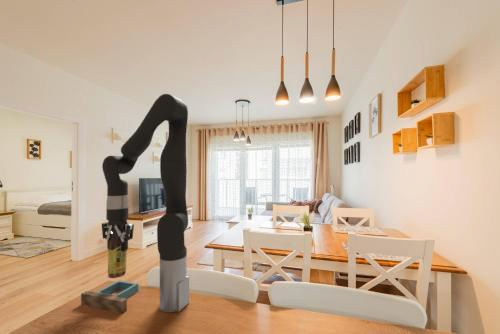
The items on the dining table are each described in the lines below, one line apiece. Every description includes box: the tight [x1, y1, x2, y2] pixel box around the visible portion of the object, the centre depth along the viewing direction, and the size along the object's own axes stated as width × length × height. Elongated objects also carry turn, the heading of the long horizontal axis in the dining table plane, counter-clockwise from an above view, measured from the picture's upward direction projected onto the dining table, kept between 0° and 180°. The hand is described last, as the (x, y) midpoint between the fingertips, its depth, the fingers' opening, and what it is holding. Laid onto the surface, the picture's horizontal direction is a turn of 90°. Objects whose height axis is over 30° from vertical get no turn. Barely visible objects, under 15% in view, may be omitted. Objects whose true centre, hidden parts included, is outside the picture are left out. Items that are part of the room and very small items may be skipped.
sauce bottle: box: [107, 224, 128, 279], centre depth 91 cm, size 6×6×20 cm
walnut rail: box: [80, 290, 128, 314], centre depth 83 cm, size 19×2×4 cm, turn 72°
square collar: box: [95, 280, 139, 300], centre depth 90 cm, size 10×11×3 cm
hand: (117, 250), depth 91 cm, fingers closed on sauce bottle, 6 cm apart
